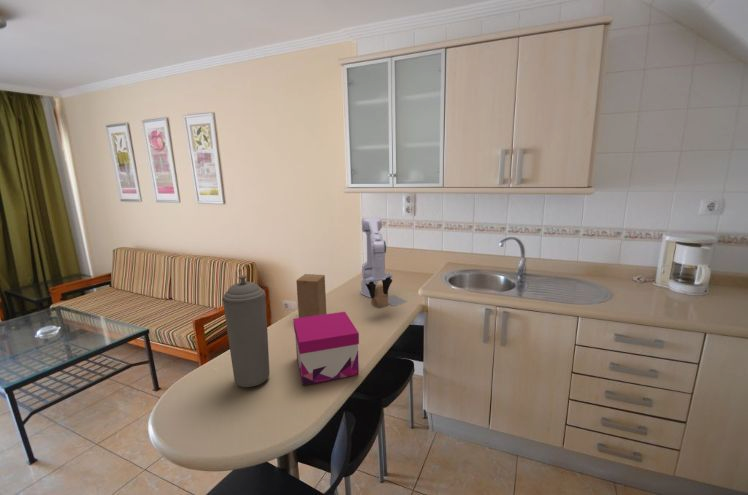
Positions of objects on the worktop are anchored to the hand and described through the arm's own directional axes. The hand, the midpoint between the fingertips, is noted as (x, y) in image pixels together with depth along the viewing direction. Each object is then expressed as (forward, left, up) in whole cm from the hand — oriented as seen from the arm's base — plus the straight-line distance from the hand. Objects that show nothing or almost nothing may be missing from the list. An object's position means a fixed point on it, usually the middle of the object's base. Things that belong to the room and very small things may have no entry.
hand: (379, 295), depth 156 cm
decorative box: (+21, -40, -11) cm, 46 cm away
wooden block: (-18, -25, -11) cm, 33 cm away
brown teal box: (-11, +9, -10) cm, 18 cm away
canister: (+13, -63, -11) cm, 65 cm away
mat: (-11, +19, -10) cm, 24 cm away
